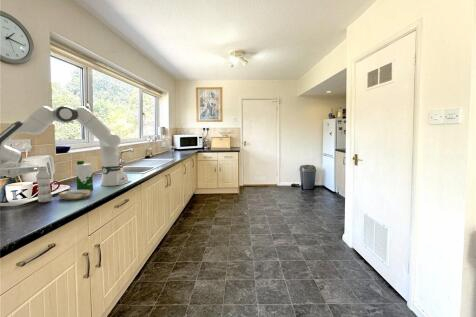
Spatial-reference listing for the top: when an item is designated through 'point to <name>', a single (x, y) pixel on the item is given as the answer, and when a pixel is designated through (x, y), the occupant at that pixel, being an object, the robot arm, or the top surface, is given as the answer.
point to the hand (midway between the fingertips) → (27, 171)
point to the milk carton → (84, 175)
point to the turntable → (74, 194)
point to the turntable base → (75, 199)
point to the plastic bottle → (43, 185)
